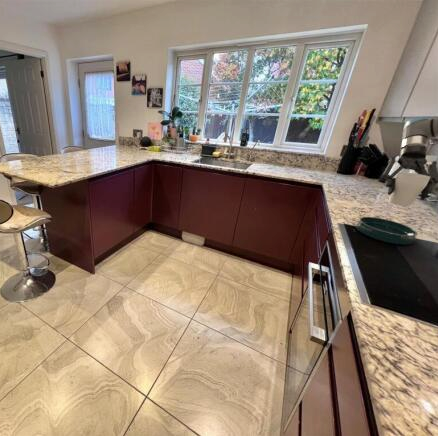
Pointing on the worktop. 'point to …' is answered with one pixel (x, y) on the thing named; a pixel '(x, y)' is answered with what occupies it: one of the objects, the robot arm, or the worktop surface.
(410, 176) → the cup
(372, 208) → the worktop surface
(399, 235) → the bowl
